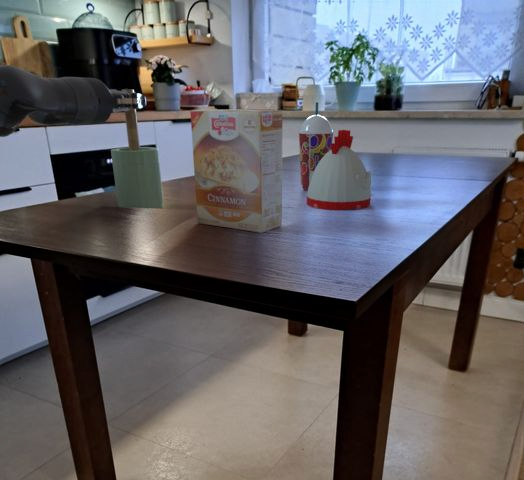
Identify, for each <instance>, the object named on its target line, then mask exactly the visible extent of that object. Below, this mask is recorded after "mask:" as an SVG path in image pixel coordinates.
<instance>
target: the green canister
mask: <svg viewBox="0 0 524 480" xmlns="http://www.w3.org/2000/svg"><path fill="white" fill-rule="evenodd" d="M110 154H111V162H112V163H111V164H112V169H113V177H114V186H115V192H116V200H117V205H118V208H133V209H157V210H158V209H160V210H163V209H164V197H163V185H162V175H161V164H160V163H161V162H160V154H159V148H158V147H152V146H140V150H138V151H129V146H128V147H117V148H112V149H110Z"/></svg>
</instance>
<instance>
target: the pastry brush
mask: <svg viewBox="0 0 524 480" xmlns="http://www.w3.org/2000/svg"><path fill="white" fill-rule="evenodd" d="M121 91H127V92H128V94H131V93H135V89H132V88H131V89H129V88H128V89H121ZM129 105H130V104H129ZM124 117H125V118H124V119H125V127H126V134H127V135H126V136H127V144H128V147H129V151H138V150H140V147H141V146H140V135H139V126H138V117H137V109H132V108H130V110H129V111H124Z"/></svg>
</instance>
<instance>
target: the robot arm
mask: <svg viewBox="0 0 524 480" xmlns="http://www.w3.org/2000/svg"><path fill="white" fill-rule="evenodd" d="M129 104H130V105H129ZM146 106H147V98H146V96H145V94H142V93H140V92H134V93H131V94H128V92H127V91H122V90H117V88H116V89H115V88H113V89H112V88H110V89H109V87H108V86H107V85H106V84H105V83H104V82H103V81H102V80H101V79H98V78H96V77H81V76H62V77H42V76H39V75H36V74H35V73H32V72H29V71H27V70H25V69H23V68H20V67H18V66H15V65H11V64H2V65H0V138H6V137H9V136H10V135H12V134H13V133H14V132H15V131H16V130H17V129H18V128H19V126H21V124H22V123H23V122H24V121H25V120H26V119H27V118H29V119H30V120H31V121H32V122H34V123H35V124H38V125H40V126H41V125H42V126H62V125H68V126H85V125H86V126H87V125H88V126H89V125H101V124H104V123H106V122H107V121H108V120H109V119H110V117H111V115H112V114H119V113H120V112H125V111H129V110H130V108H132V109H136V110H141V109H142V108H145V107H146Z"/></svg>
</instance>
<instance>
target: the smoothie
mask: <svg viewBox="0 0 524 480" xmlns="http://www.w3.org/2000/svg"><path fill="white" fill-rule="evenodd" d="M314 111H315V113H314V114H313V115H310V116H309V117H307V118H306V119H305V120H304V121H303V122H302V124H301V127H300V129H299V130H298V140H299V141H298V142H299V143H298V144H299V169H300V172H299V173H300V185H301V186H302V190H304V191H306V192H308V188H309V184H310V173H311V171H314V170H315V168H316V166H317V165H318V163H319V162H320V160H321V159H322V158H323V157H324V155H325V154H326V153H328V152H329V151H330V150H331V143H333V139H334V130H333V128H332V126H331V123H330V121H329V120H328V119H327V118H326V117H325V116H322V115H320V114H319V102H315V110H314Z"/></svg>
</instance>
